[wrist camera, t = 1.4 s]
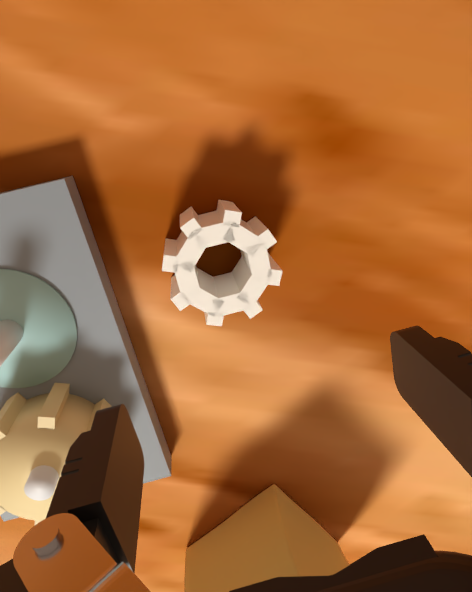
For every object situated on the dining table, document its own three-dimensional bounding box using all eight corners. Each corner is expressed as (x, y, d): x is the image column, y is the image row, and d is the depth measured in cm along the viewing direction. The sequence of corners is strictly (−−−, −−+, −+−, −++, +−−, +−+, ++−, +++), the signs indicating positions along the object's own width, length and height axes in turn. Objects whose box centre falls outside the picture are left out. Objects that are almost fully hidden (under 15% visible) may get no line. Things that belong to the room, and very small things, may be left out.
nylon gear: (255, 190, 26) (268, 199, 23) (274, 286, 29) (289, 308, 25) (153, 215, 26) (149, 228, 22) (180, 310, 28) (181, 336, 25)
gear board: (72, 175, 25) (35, 189, 18) (171, 456, 32) (170, 536, 26) (-138, 225, 24) (-254, 258, 18) (13, 498, 32) (-29, 592, 25)
